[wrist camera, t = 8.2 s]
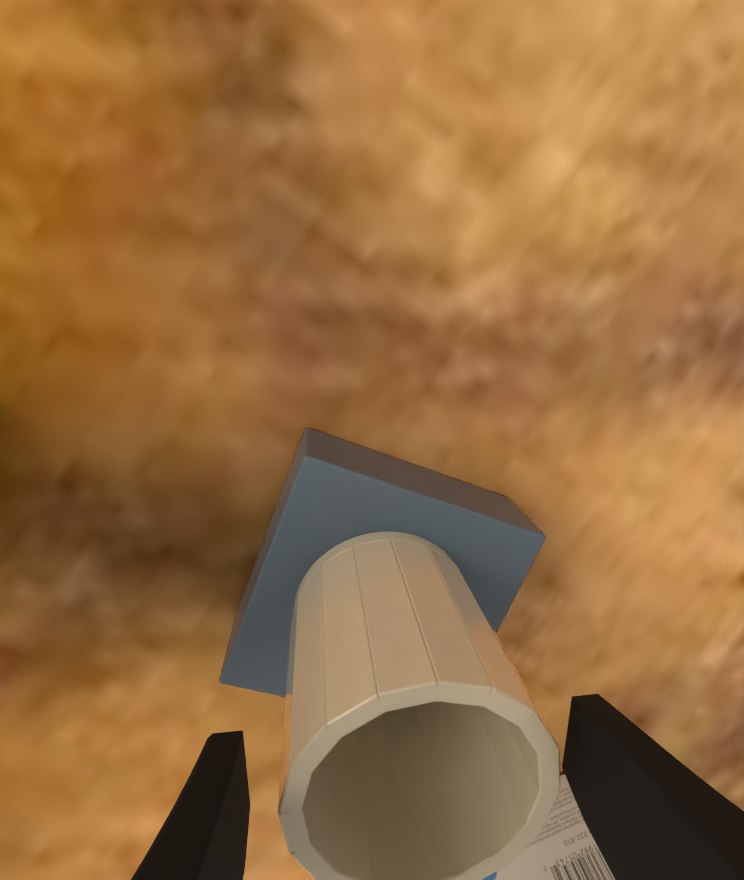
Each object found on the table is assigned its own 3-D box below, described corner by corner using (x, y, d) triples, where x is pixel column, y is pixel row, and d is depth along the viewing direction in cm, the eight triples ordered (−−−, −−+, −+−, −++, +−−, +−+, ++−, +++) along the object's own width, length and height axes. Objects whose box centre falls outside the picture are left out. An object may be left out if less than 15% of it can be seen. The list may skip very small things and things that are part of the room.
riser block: (233, 619, 18) (217, 683, 15) (305, 426, 16) (304, 454, 13) (424, 667, 20) (445, 734, 17) (507, 496, 18) (548, 536, 15)
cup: (257, 635, 15) (222, 848, 9) (363, 497, 14) (399, 634, 8) (397, 707, 16) (444, 932, 10) (501, 586, 15) (615, 757, 9)
